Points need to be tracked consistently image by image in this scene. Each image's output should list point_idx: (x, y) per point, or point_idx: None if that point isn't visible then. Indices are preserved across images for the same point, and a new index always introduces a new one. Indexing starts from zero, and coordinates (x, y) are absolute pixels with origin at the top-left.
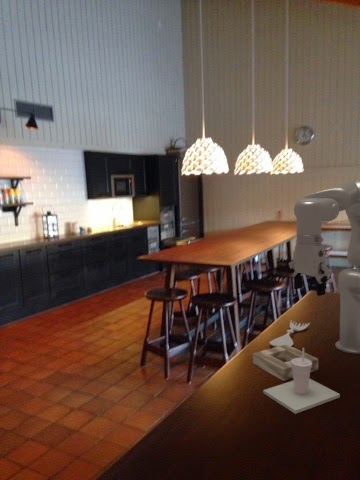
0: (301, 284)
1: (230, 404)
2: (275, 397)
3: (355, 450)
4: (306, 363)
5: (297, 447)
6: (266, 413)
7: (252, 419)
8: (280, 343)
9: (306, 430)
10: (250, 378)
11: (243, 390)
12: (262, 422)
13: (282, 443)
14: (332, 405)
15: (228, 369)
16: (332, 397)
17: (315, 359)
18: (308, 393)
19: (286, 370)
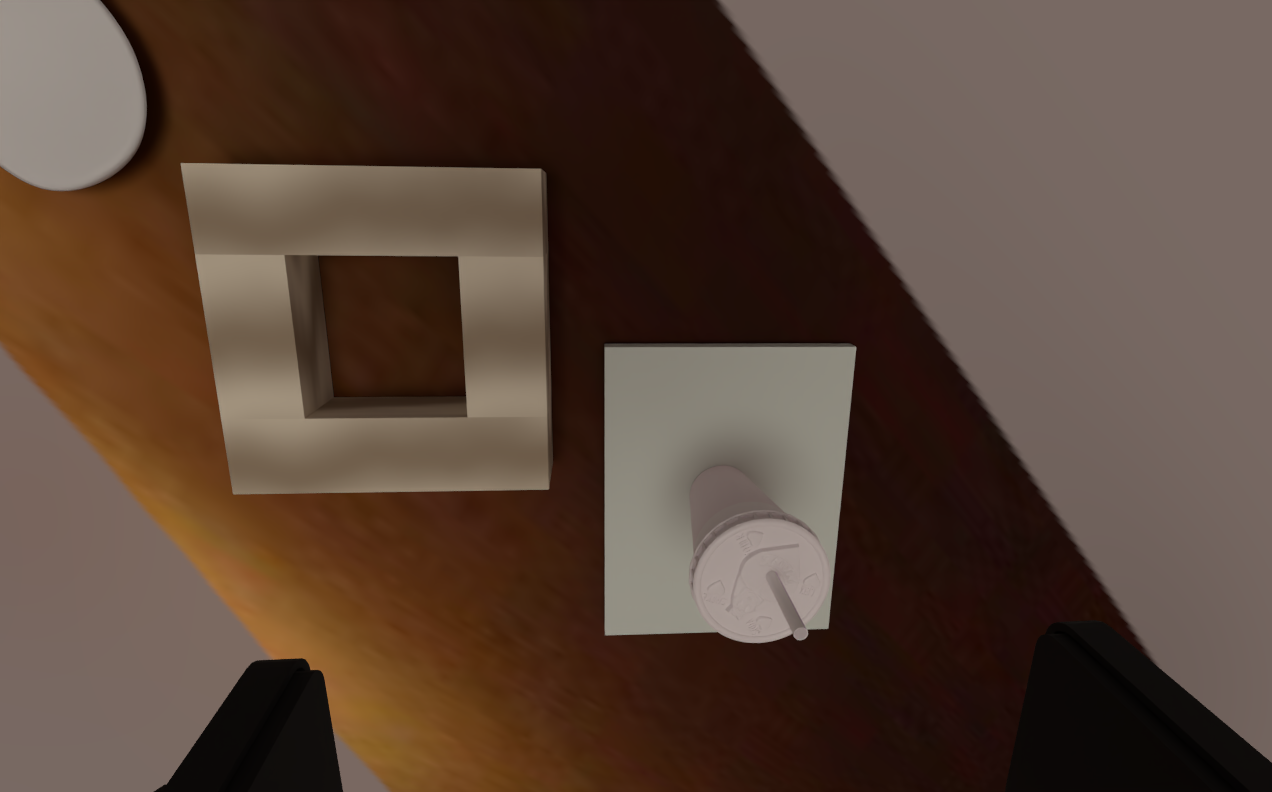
0: (284, 775)
1: (607, 787)
2: (692, 629)
3: (1114, 601)
4: (798, 571)
5: (972, 745)
6: (748, 709)
7: (749, 774)
8: (20, 63)
9: (928, 658)
10: (436, 587)
11: (530, 683)
12: (788, 756)
13: (925, 771)
14: (875, 434)
15: (277, 624)
16: (849, 400)
17: (537, 197)
18: (755, 476)
19: (549, 462)
